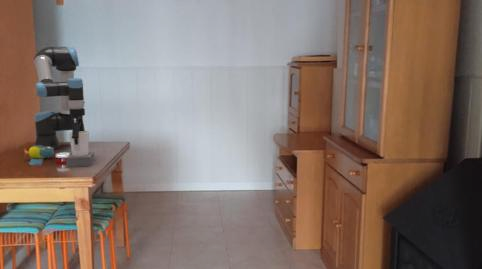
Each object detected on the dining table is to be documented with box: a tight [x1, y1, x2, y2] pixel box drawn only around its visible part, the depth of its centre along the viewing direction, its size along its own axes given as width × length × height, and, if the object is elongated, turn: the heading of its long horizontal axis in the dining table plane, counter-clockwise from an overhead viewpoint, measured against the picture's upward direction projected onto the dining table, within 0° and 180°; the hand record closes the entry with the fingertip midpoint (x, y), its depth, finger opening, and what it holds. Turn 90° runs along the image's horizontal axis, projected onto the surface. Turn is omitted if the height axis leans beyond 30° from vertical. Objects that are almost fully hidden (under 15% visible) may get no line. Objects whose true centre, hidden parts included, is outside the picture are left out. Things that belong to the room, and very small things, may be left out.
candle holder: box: [68, 130, 90, 157], centre depth 237 cm, size 10×10×12 cm
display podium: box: [65, 151, 95, 168], centre depth 238 cm, size 12×12×5 cm
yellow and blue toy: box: [23, 144, 55, 166], centre depth 251 cm, size 28×9×15 cm
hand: (79, 148), depth 237 cm, fingers open, 13 cm apart
